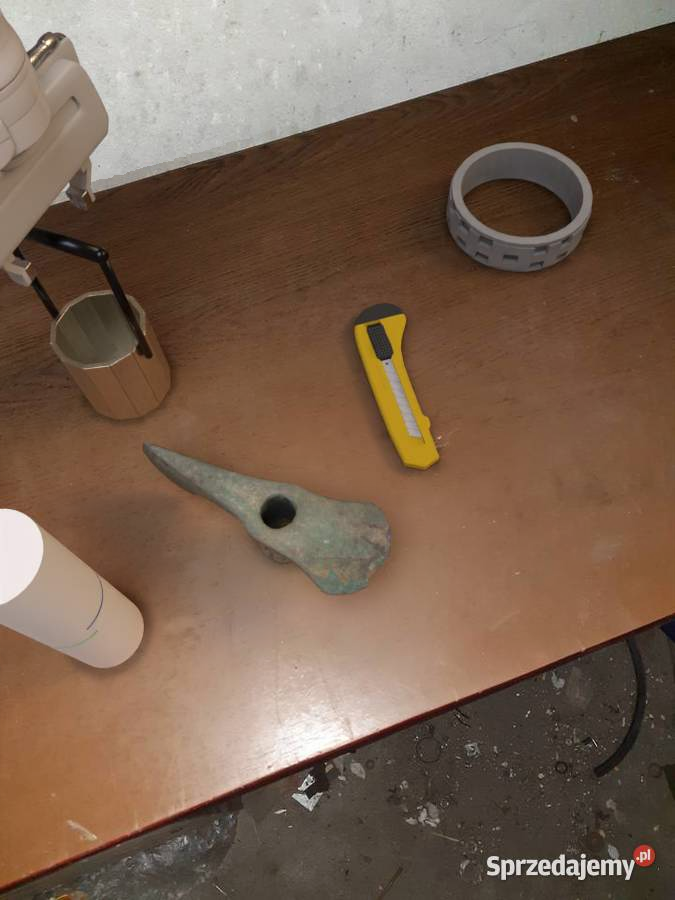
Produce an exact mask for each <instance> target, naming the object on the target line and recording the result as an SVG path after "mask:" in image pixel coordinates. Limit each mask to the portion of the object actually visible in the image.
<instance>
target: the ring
mask: <svg viewBox="0 0 675 900" xmlns="http://www.w3.org/2000/svg"><path fill="white" fill-rule="evenodd" d="M503 179H516V180H524V181H528V182H532V183H535V184H537V185H540V186H542V187H545V189H547V190H549V191H550V192H552V193H554V194H555V195H556V196H558V198H559V199H560V200H561V201H562V202H563V203H564V205H565V206H566V208H567V210H568V212H569V214H570V218H571V222H570V223H569V224H567V225H566V226H565V227H562V228H561V229H559V230H558V231H554V232H552V233H549V234H545V235H538V236H517V235H511V234H507V233H503V232H500V231H497V230H495V229H493V228H491V227H488V226H487V225H485V224H484V223H483V222H481V221H479V220H478V219H477V218H476V217H475V216H474V215H473V214H472V213H471V212H470V211H469V209H468V207H467V206H466V204H465V201H464V198H465V196H466V195H467V194H469V192H470V191H471V190H473V189H474V188H476V187H478V186H480V185H482V184H484V183H488V182H491V181H495V180H503ZM593 196H594V195H593V191H592V185H591V183H590V181H589V179H588V177H587V175H586V174H585V173H584V171H583V170H582V169H581V168H580V166H579V165H578V164H577V163H576V162H574V161H573V160H572V159H571V158H569V157H568V156H566V155H565V154H563V153H561V152H560V151H557V150H556V149H552V148H550V147H547V146H545V145H540V144H537V143H530V142H524V141H523V142H520V141H519V142H518V141H517V142H514V141H512V142H511V141H510V142H502V143H495V144H493V145H489V146H487V147H483V148H481V149H479V150H477V151H475V152H474V153H472V154H470V156H468V157H467V158H465V160H464V161H463V162H462V163H461V164H460V165H459V167H458V168H457V170H456V171H455V172H454V174H453V176H452V178H451V182H450V185H449V191H448V197H447V203H446V204H447V205H446V211H445V214H446V215H445V216H446V223H447V227H448V230H449V233H450V235H451V237H452V238H453V240H454V242H455V243H456V245H457V246H458V247H459V248H460V249H461V250H462V251H463V252H464V253H465V254H466V255H467V256H468V257H470V258H472V259H473V260H474V261H477V262H478V263H481V264H482V265H484V266H487V267H490V268H493V269H497V270H501V271H506V272H512V273H513V272H514V273H518V272H519V273H521V272H522V273H525V272H526V273H528V272H534V271H539V270H543V269H546V268H549V267H552V266H554V265H556V264H557V263H559V262H561V261H563V260H564V259H565V258H566V257H568V256H569V255H570V254H571V253H572V252H573V251H574V250H575V249H576V248H577V246H578V245H579V243H580V242H581V239H582V236H583V234H584V232H585V230H586V227H587V225H588V222H589V219H590V217H591V215H592V211H593V209H592V206H593V201H594V197H593Z"/></svg>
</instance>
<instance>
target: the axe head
mask: <svg viewBox="0 0 675 900" xmlns="http://www.w3.org/2000/svg"><path fill="white" fill-rule="evenodd" d="M142 453H143V454H144V455H145V456H146V457H147V460H149V461H150V463H151V464H152V465H153V466H154V467H155V468H156V469H157V471H159V472H160V473H161V474H162V475H164V476H165V477H166V478H167V479H168V480H170V482H172V483H173V484H175V485H176V486H178V487H179V488H180V489H182V490H184V491H185V492H187V493H189V494H191V495H192V496H200V497H203V498H204V499H206V500H208V501H210V502H211V503H212V504H214V505H216V506H218V507H219V508H221V509H222V510H223V511H225V512H227V513H228V514H230V515H231V516H232V517H233V518H235V519H236V520H237V521H238V522H239V523H240V524H241V525H242V527H243V528H244V530H245V531H246V532H247V533H248V535H249V537H250V538H251V539H252V540H253V541H256V542H258V543H259V545H260V548H261V550H262V552H263V554H264V555H265V556H266V558H267V559H269V560H271V561H272V562H275V563H281V564H290V563H293V564H294V565H296V566H297V568H299V569H300V571H302V572H303V573H304V574H305V575H306V576H307V577H308V578H309V580H311V581H312V582H313V583H314V584H315V586H316V587H317V588H318V589H319V590H320V592H322V593H324V594H326V595H330V596H347V595H353V594H356V593H358V592H360V591H362V590H364V589H367V588H368V587H369V586H370V580H371V578H372V577H373V575H374V573H375V572H376V571H378V570H379V569H381V568H382V566H383V565H384V564H385V562H387V561H388V559H389V557H390V554H391V551H392V530H391V525H390V522H389V520H388V518H387V515H386V514H385V512H384V511H383V510H382V508H380V507H379V506H378V505H377V504H375V503H373V502H370V501H349V500H340V499H335V498H330V497H327V496H323V495H321V494H318V493H315V492H313V491H310V490H307V488H304V487H302V486H299V485H296V484H295V483H291V482H284V481H277V480H271V479H266V478H265V479H264V478H260V477H256V476H255V477H254V476H251V475H248V474H244V473H241V472H238V471H234V470H230V469H227V468H225V467H224V468H223V467H220V466H218V465H215V464H212V463H209V462H205V461H203V460H200V459H197V458H194V457H191V456H188V455H186V454H182V453H180V452H177V451H174V450H172V449H170V448H166V447H164V446H161V445H158V444H154V443H151V442H142ZM283 523H288V524H287V525H286V526H283V527H280V528H275V527H276V526H278V525H279V524H283Z"/></svg>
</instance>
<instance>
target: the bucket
mask: <svg viewBox="0 0 675 900" xmlns="http://www.w3.org/2000/svg"><path fill="white" fill-rule="evenodd" d="M23 240H26V241H30V242H33V243H36V244H39V245H42V246H45V247H48V248H51V249H54V250H57V251H60V252H63V253H65V254H69V255H72V256H75V257H78V258H81V259H84V260H87V261H90V262H93V263H96V264H98V265H99V267H100V269H101V271H102V272H103V275H104V277H105V280H106V281H107V283H108V285H109V288H110V289H103V290H95V291H87V292H85V293H82V294H81V295H79V296H78V297H76V298H74V299H72V300H70V301H69V302H67V303H65V304H64V305H63V306H62V307H61V309H60V311H59V310H58V309H57V307H56V304H54V302H53V300H52V298H50V295H49V294H48V292H47V290H46V289H45V288H44V286H43V284H42V283H41V281H40V279H39V278H38V275H37V276H36V277H35V279H34V280H33V281H32V283H31V284H30V286H31V287H32V289H33V291H34V292H35V293H36V295H37V296H38V298H39V300H40V301H41V304H43V306H44V307H45V309H46V311H47V312H48V313H49V315H50V317H51V318H52V321H51V324H50V335H49V337H50V339H49V344H50V347H51V348H52V350H53V351H54V352H55V354H56V356H57V357H58V358H59V360H60V361H61V363H62V364H63V366H64V368H66V370H67V371H68V373H69V374H70V375H71V377H72V379H73V380H74V381H75V383H76V384H77V386H78V387H79V389H80V390H81V391H82V393H83V394H84V397H86V399H87V400H88V402H89V404H91V406H92V407H93V410H95V412H96V413H97V414H99V415H102V416H104V417H107V418H109V419H112V420H115V421H123V420H130V419H138V418H142V417H143V416H145V415H147V414H148V413H149V412H152V411H153V410H155V409H156V408H158V407H159V406H160V405H161V404H162V402H163V401H164V399H165V398H166V396H167V394H168V392H169V391H170V389H171V387H172V381H171V379H172V378H171V366H170V365H169V362H168V360H167V358H166V356H165V354H164V352H163V351H164V350H163V349H162V346H161V345H160V342H159V340H158V338H157V335H156V333H155V331H154V328H153V326H152V324H151V322H150V319H149V318H148V315H147V313H146V311H145V310H144V308H143V307H142V306H141V305H140V303H139V302H138V301H137V300H136V299H135V297H134V296H133V295H129V294H126V293H125V292H124V290H123V287H122V285H121V283H120V281H119V278H118V277H117V275H116V272H115V270H114V268H113V266H112V263H111V262H110V260H109V259H110V253H109V251H108V250H107V249H106V248H105V247H102V246H100V245H96V244H93V243H90V242H87V241H84V240H81V239H78V238H75V237H71V236H68V235H66V234H62V233H59V232H56V231H53V230H50V229H47V228H44V227H41V226H38V225H36V224H35V225H34V226H33V228H32V229H31V230H30V231H29V233H28V234H27V235H26V236H25V238H24V239H23ZM13 255H14V256H15V257H18V258H20V259H21V260H26V261H27V259H26V257H25V255H24V254H23V253H22V251H21V249H20V247H19V245H18V246H17V248H16V249H15V250H14V251H13Z"/></svg>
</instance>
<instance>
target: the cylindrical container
mask: <svg viewBox="0 0 675 900" xmlns="http://www.w3.org/2000/svg"><path fill="white" fill-rule="evenodd" d="M0 625H1V626H3V627H6V628H9V629H10V630H13V631H14V632H17V633H19V634H21V635H23V636H25V637H27V638H29V639H32V640H34V641H36V642H39V643H41V644H42V645H45V646H47V647H49V648H51V649H54V650H55V651H58V652H60V653H62V654H65V655H67V656H69V657H71V658H73V659H74V660H78V661H79V662H82V663H84V664H86V665H89V666H91V667H93V668H98V669H109V668H114V667H116V666H119V665H121V664H123V663H124V662H126V661H127V660H129V659H130V658H131V657H132V656H133V655H134V654H135V652H136V651H137V650H138V648H139V647H140V644H141V643H142V640H143V636H144V630H145V626H144V625H145V623H144V618H143V615H142V613H141V611H140V609H139V608H138V607H137V605H135V603H133V602H132V601H131V600H130V599H129V598H128V597H126V595H124V594H123V593H122V592H121V591H119V590H118V589H116V588H115V586H113V585H112V584H111V583H109V582H108V581H107V580H106V579H105V578H103V577H102V576H101V575H100V574H99V573H97V572H96V571H95V570H94V569H93V568H92V567H91V566H89V565H88V564H86V563H85V562H84V561H83V560H82V559H80V558H79V557H78V556H77V555H76V554H75V553H73V552H72V551H71V550H70V549H68V547H66V546H65V545H64V544H62V543H61V542H60V541H59V540H57V539H56V538H55V537H54V536H53V535H52V534H51V533H49V532H48V531H46V530H45V528H43V527H42V526H40V524H38V523H37V522H36V521H35V520H34V519H32V518H31V517H29V516H28V515H26V514H25V513H23V512H20V511H18V510H17V509H16V510H15V509H11V508H0Z"/></svg>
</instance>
